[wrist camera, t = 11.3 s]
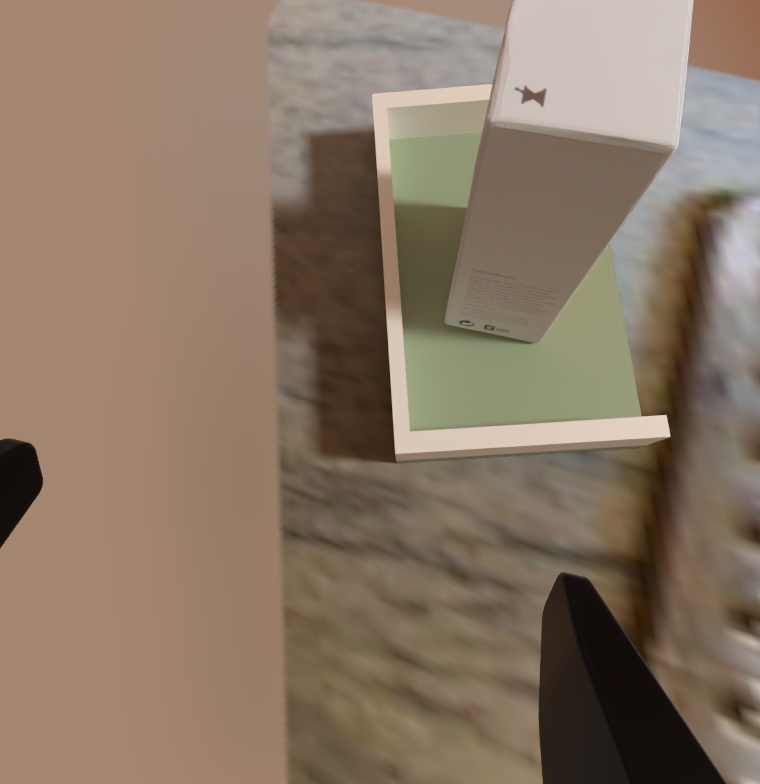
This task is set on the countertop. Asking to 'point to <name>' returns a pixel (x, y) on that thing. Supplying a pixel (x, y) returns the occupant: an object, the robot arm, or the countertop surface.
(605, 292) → the pad
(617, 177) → the skincare box
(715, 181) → the countertop surface
